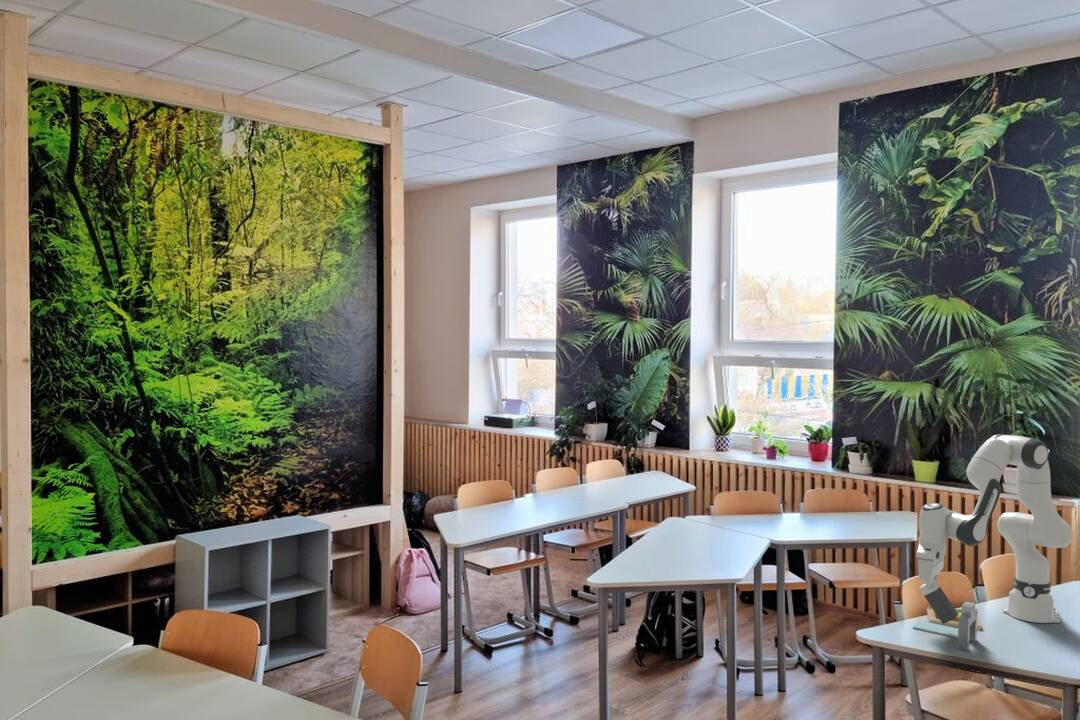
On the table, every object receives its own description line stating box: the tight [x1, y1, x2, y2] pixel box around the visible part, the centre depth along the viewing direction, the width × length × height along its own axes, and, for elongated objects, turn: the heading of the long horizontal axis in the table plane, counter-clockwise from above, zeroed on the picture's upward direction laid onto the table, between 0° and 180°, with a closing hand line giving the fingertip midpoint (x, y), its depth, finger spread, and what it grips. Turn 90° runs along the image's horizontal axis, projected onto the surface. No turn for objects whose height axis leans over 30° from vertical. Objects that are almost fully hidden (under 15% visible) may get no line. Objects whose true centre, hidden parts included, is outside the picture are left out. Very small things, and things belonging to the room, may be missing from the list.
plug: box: [918, 579, 959, 624], centre depth 304 cm, size 5×14×5 cm
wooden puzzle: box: [926, 605, 983, 632], centre depth 318 cm, size 18×19×4 cm
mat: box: [912, 620, 958, 639], centre depth 306 cm, size 9×18×1 cm, turn 51°
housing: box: [957, 601, 978, 652], centre depth 292 cm, size 14×3×14 cm, turn 141°
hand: (931, 587), depth 305 cm, fingers closed on plug, 5 cm apart
